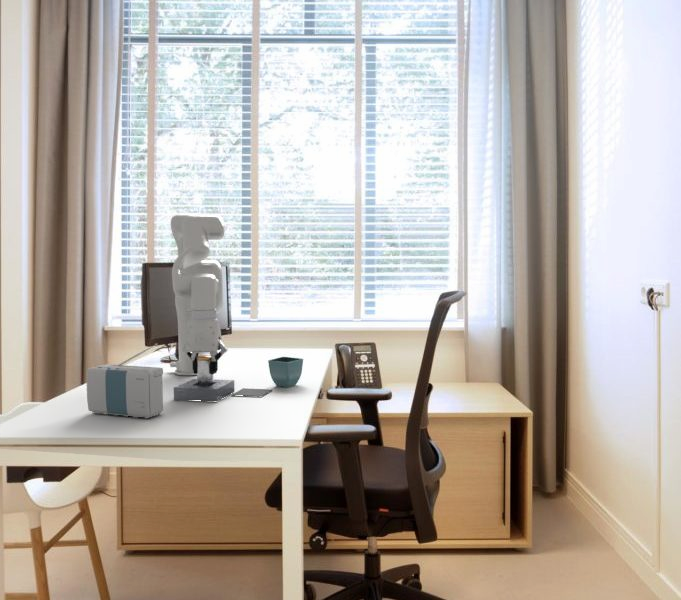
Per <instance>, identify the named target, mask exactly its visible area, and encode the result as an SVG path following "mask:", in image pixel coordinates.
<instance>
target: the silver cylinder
mask: <svg viewBox="0 0 681 600" xmlns="http://www.w3.org/2000/svg"><path fill="white" fill-rule="evenodd" d="M211 361H212V358H211V355H210V354H209V355H208V354H207V355H206V354H205V355H203V356H197V375H196V379H197V386H211V385H213V384H214V380H215V377H214V374H211V370H210V362H211Z"/></svg>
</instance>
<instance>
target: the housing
mask: <svg viewBox="0 0 681 600" xmlns="http://www.w3.org/2000/svg"><path fill="white" fill-rule="evenodd" d="M233 392H234V393H235V380H234V379H232V380H231V379H214V384H213V385H211V386H197V378H192V379H190V380H188V381H186V382H183V383H181V384H178V385H177V386H176V385H175V386H174V387H173V401H174V400H201V401H219V400H220V401H222V400H223V399H222V398H224V397H226V396H228V395H229V396H231V395H232V394H231V393H233ZM234 393H233V394H234ZM230 394H231V395H230ZM229 396H228V397H229ZM226 398H227V397H226ZM221 399H222V400H221ZM224 399H225V398H224ZM220 401H219V402H220Z"/></svg>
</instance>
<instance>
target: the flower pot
mask: <svg viewBox="0 0 681 600" xmlns="http://www.w3.org/2000/svg"><path fill="white" fill-rule="evenodd" d="M267 363H268V369H269V374H270V378H271V380H272V381H273V383H274V385H276V386H277V387H283V388H284V387H286V388H289V387H291V386H292V387H293V386H296V385H297V384H298V383H299V380H300V379H301V375H302V373H303V372H302V371H303V363H304V358H301V357H299V358H298V357H288V356H281V357H276V358H273V359H268V360H267Z"/></svg>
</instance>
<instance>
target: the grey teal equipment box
mask: <svg viewBox="0 0 681 600" xmlns="http://www.w3.org/2000/svg"><path fill="white" fill-rule="evenodd" d="M157 345H158V343H154V345H152V346H150V347H148V348H146V349H144V350H142V351H141V352H139V353H137V354H135V355H133V356H131V357H129V358H128V359H126V360H124V361H122V362H121V363H119V364H114V363H113V364H111V363H110V364H109V363H106V364H100V365H96V366H92V367H89V368H87V369H86V399H87V402H86V403H87V408H88V411H89V412H91V413H92V412H94V413H97V414H99V413H106V414H105V415H108V414H114V415H113V416H118V415H124V416H123V417H128V416H133V417H132V418H138V417H145V418H144V419H147V418H149V417H151V418H153V417H152V416H154V417H156V416H158V415H157V414H159V415H161V414H162V412H163V411H164V394H163V393H164V392H163V375H164V368H163V367H155V366H140V365H126V363H127V362H129V361H132V360H133V359H135V358H136V357H138V356H140V355H142V354H144V353H145V352H146V351H149V350H150V349H151V348H153V347H155V346H157ZM94 413H93V414H94ZM160 413H161V414H160ZM155 415H156V416H155ZM149 419H150V418H149Z"/></svg>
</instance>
